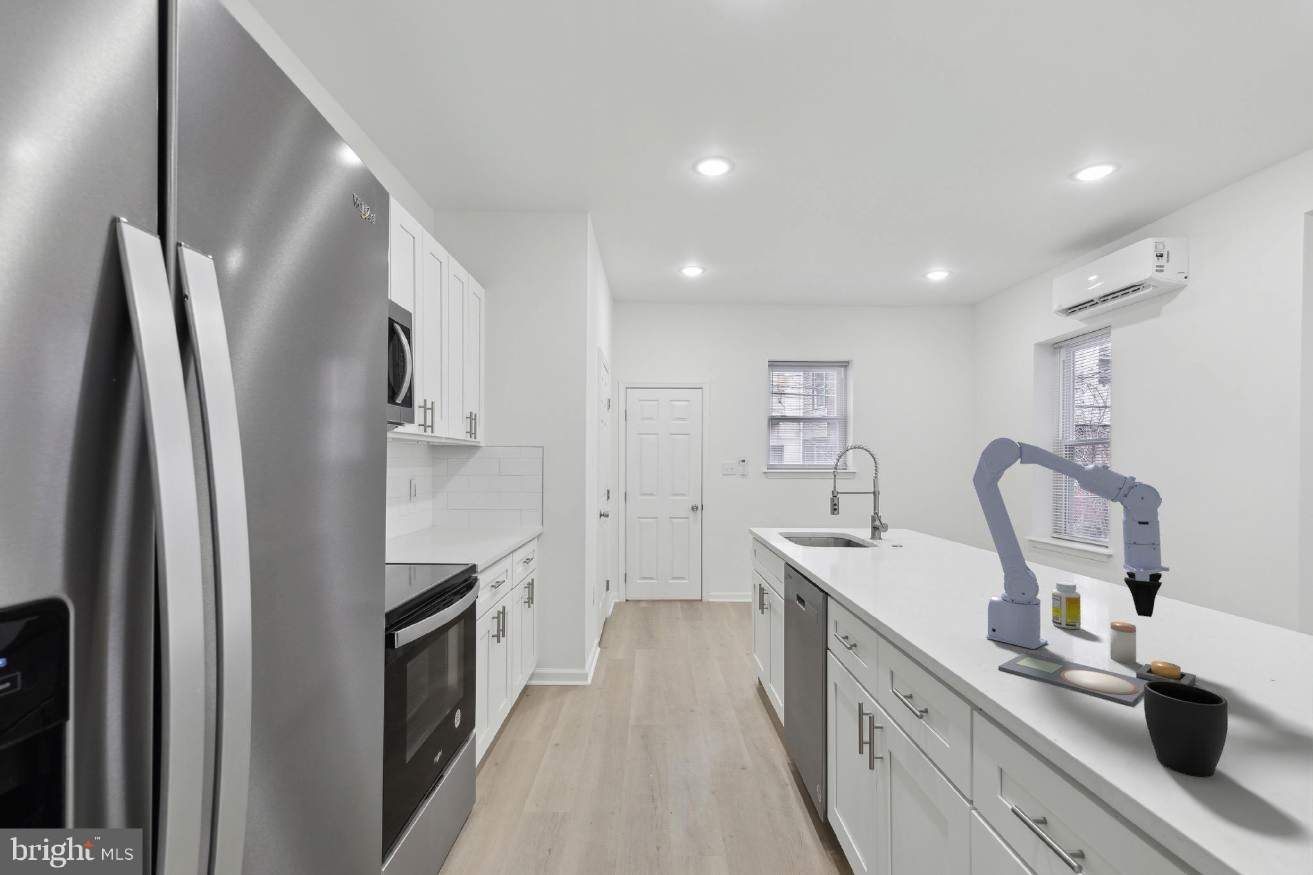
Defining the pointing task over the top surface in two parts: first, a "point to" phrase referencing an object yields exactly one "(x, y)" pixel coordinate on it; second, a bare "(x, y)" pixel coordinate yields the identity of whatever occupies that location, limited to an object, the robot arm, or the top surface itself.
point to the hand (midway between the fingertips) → (1145, 612)
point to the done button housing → (1147, 675)
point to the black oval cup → (1186, 726)
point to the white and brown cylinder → (1123, 642)
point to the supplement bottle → (1066, 606)
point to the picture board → (1077, 677)
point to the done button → (1166, 669)
